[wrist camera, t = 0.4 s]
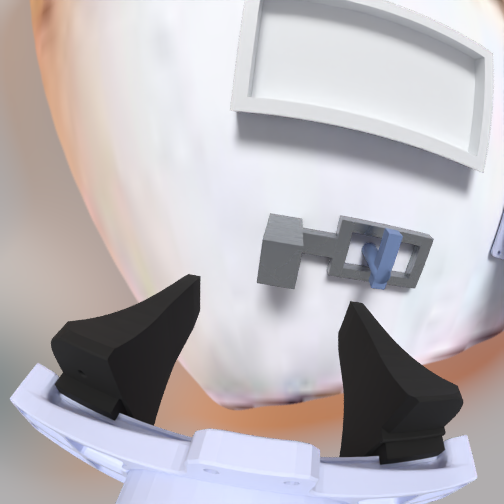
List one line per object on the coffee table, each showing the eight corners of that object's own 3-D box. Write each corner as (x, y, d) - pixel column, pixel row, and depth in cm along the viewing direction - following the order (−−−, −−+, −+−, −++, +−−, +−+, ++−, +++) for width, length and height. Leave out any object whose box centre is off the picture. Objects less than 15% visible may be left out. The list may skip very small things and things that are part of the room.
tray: (480, 55, 11) (492, 52, 10) (470, 168, 16) (483, 173, 14) (252, -10, 13) (248, -21, 11) (236, 111, 18) (230, 110, 16)
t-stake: (385, 215, 19) (404, 236, 15) (372, 261, 21) (385, 289, 17) (371, 212, 19) (388, 233, 16) (358, 259, 21) (370, 287, 17)
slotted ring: (428, 234, 19) (456, 262, 15) (411, 282, 21) (431, 317, 17) (271, 203, 20) (264, 226, 16) (263, 258, 22) (255, 293, 18)
